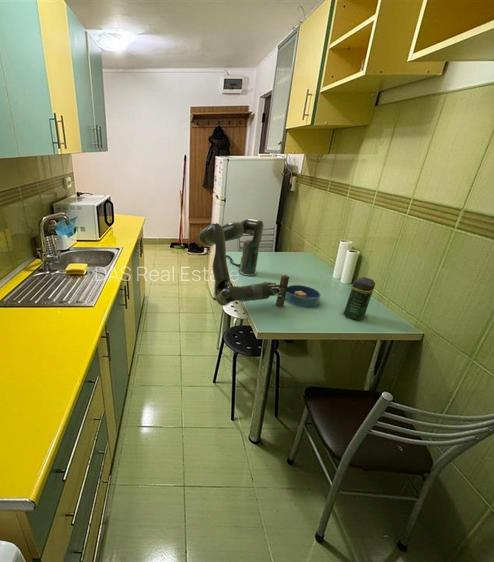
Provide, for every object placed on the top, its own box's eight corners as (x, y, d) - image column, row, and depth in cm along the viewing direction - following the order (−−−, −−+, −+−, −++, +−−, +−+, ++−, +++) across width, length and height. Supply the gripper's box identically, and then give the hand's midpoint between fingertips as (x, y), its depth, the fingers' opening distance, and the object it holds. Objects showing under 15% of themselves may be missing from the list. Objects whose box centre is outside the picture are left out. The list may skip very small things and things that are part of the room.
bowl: (277, 295, 160) (279, 287, 158) (302, 291, 164) (304, 283, 162) (298, 310, 146) (300, 300, 144) (325, 305, 150) (327, 296, 148)
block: (293, 298, 156) (294, 291, 154) (299, 297, 157) (301, 290, 155) (298, 302, 152) (300, 295, 151) (305, 301, 153) (306, 294, 152)
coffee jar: (359, 322, 136) (371, 285, 129) (341, 315, 141) (351, 279, 134) (367, 315, 142) (378, 279, 135) (348, 309, 147) (359, 274, 140)
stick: (275, 305, 150) (281, 275, 143) (280, 304, 151) (285, 274, 144) (279, 307, 148) (284, 277, 141) (283, 306, 148) (289, 276, 142)
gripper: (267, 290, 133) (299, 286, 139) (250, 278, 145) (280, 275, 151) (265, 305, 136) (296, 301, 142) (248, 292, 149) (277, 288, 154)
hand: (288, 287), depth 146 cm, fingers closed on stick, 2 cm apart
